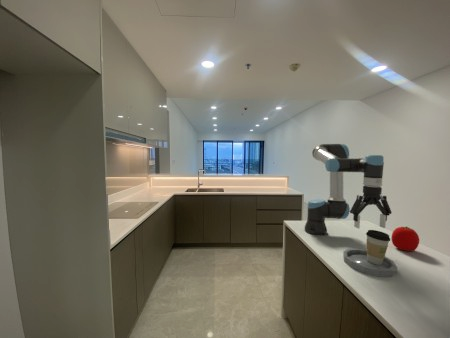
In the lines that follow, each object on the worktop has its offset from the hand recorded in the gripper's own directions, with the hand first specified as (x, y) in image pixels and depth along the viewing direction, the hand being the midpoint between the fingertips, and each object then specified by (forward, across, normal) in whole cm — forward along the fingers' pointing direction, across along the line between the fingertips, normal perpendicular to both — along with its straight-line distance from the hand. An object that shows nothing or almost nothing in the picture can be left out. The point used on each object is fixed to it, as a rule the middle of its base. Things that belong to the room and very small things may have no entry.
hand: (369, 227), depth 101 cm
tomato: (+20, +35, +14) cm, 43 cm away
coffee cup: (+18, +3, -1) cm, 18 cm away
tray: (+19, 0, -1) cm, 19 cm away
